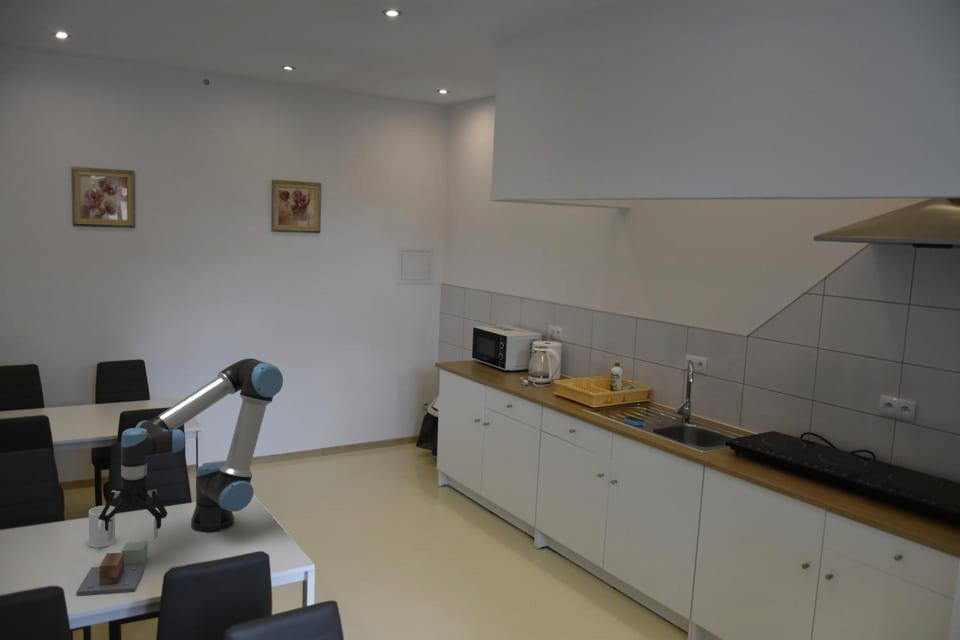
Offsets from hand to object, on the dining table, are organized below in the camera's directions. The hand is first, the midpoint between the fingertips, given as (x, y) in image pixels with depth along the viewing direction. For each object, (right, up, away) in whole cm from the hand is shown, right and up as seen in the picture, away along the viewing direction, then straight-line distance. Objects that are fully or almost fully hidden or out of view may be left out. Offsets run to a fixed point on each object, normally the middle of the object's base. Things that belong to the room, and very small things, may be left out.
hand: (133, 538), depth 234 cm
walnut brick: (-1, -9, -11) cm, 14 cm away
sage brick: (0, -8, +1) cm, 9 cm away
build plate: (-1, -10, -11) cm, 15 cm away
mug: (-18, -6, +13) cm, 23 cm away
